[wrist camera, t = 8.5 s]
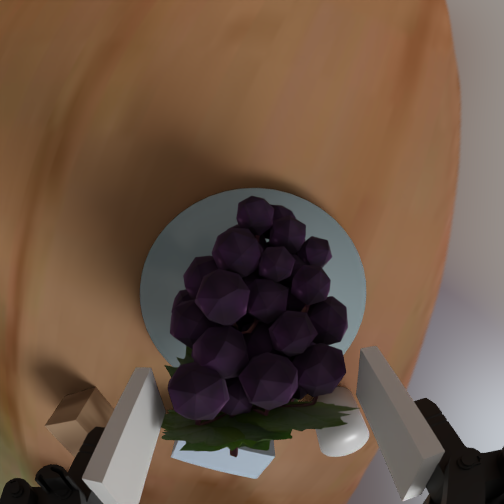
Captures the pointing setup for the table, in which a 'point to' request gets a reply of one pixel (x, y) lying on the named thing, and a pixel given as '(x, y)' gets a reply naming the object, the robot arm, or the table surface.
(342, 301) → the plate
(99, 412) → the walnut block
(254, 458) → the dusty blue block
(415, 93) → the table surface
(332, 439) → the grey plastic peg
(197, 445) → the fruit
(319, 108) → the table surface
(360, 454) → the table surface
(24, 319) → the table surface
